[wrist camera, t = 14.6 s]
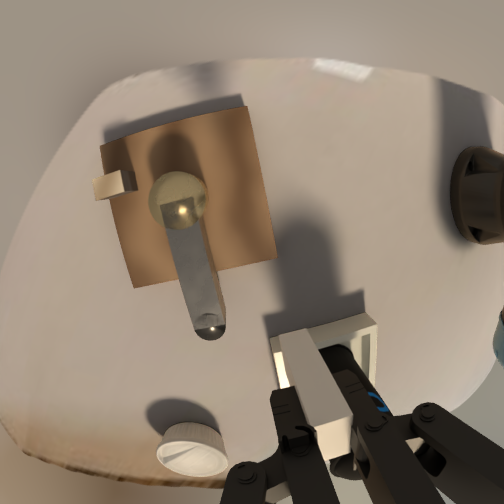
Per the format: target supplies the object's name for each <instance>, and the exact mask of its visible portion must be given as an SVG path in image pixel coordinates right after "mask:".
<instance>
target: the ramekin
mask: <svg viewBox="0 0 504 504" xmlns="http://www.w3.org/2000/svg"><path fill="white" fill-rule="evenodd" d="M156 455H157V458H158V460H159V461H160V462H161V463H162V464H163V465H164V466H165V467H167V468H168V469H170V470H172V471H174V472H177V473H180V474H183V475H188V476H196V477H205V476H212V475H215V474H218V473H220V472H222V471H224V470H225V469H226V468H227V466H228V456H227V454H226V451H225V447H224V442H223V439H222V437H221V436H220V435H219V434H218V433H217V432H216V431H215V430H214V429H212V428H210V427H208V426H206V425H203V424H199V423H193V422H184V423H179V424H176V425H173V426H171V427H170V428H169V429H167V431H166V432H165V434H164V436H163V438H162V441H161V442H160V443H159V445H158V446H157V450H156Z"/></svg>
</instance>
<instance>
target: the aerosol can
mask: <svg viewBox="0 0 504 504" xmlns="http://www.w3.org/2000/svg"><path fill="white" fill-rule="evenodd" d="M318 351H319V353H320V354H321V356H322V358H323V360H324V362H325V364H326V365H327V367H328V369H329V371H330V373H331V374H334V373H337V372H340V371H343V370H346V369H348V370H349V371H351V372H353V373H354V374H356V376H357V377H358V379H359V380H360V382H361V383H362V385H363V386H364V389H366V391H367V392H368V394H369V395H370V397H371V399H372V400H373V402H374V403H375V405H376V406H377V408H378V409H379V410H380V411H381V412H383V413H386V414H387V415H389V416H393V415H392V413H391V412H390V410H389V409H388V407H387V406H386V404H385V403H384V401H383V400H382V398H381V397H380V395H379V394H378V392H377V391H376V389H375V388H374V386H373V385H372V384H371V382H370V381H369V379H368V378H367V376H366V375H365V373H364V372H363V370H362V369H361V368H360V366H359V365H358V363H357V362H356V360H355V359H354V355H353V353H352V351H351V350H350V349H349V348H348V347H346V346H344V345H341V344H335V345H332V346H328V347H325V348H321V349H318ZM354 455H355V454H354V452H353V450H352V448H351V450H350V453H347V454H345V455H342V456H339V457H335V458H332V459H329V461H330V472H331V473H332V474H333V475H334V476H337V477H341V478H345V479H349V480H362V478H361V475H360V473H359V471H358V469H357V467H356V470H353V462H354Z"/></svg>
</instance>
